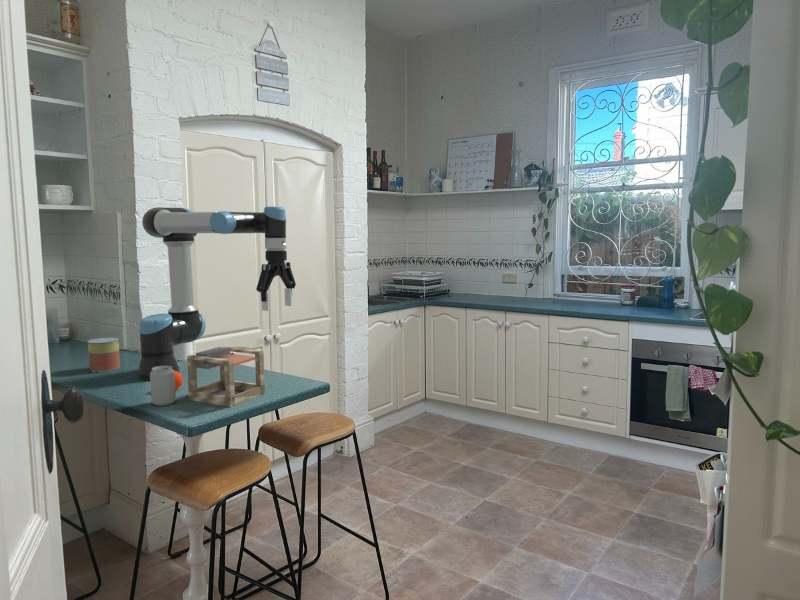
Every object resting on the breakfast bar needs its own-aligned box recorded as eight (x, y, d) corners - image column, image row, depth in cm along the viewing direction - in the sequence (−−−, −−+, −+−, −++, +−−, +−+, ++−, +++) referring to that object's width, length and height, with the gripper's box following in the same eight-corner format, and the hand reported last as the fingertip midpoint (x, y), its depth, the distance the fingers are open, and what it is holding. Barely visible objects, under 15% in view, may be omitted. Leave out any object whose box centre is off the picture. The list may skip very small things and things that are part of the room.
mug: (177, 362, 252) (176, 340, 251) (166, 359, 258) (165, 338, 257) (202, 357, 261) (201, 336, 260) (192, 354, 267) (191, 334, 266)
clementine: (159, 388, 211) (158, 369, 210) (179, 385, 215) (178, 366, 214) (165, 393, 205) (164, 373, 204) (185, 390, 209) (184, 370, 208)
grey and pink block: (194, 368, 197) (193, 353, 196) (221, 360, 209) (221, 346, 208) (231, 373, 190) (230, 358, 189) (257, 364, 202) (257, 350, 201)
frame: (189, 399, 197) (186, 355, 195) (224, 387, 212) (223, 346, 210) (230, 407, 189) (228, 361, 187) (264, 393, 204) (263, 351, 203)
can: (175, 405, 191) (173, 369, 190) (150, 407, 189) (148, 370, 188) (176, 398, 198) (175, 363, 197) (152, 400, 196) (150, 365, 195)
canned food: (126, 367, 242) (124, 338, 241) (101, 373, 232) (99, 343, 231) (108, 364, 248) (106, 336, 246) (83, 370, 238) (81, 341, 236)
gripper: (262, 251, 200) (264, 313, 203) (304, 248, 222) (305, 304, 225) (244, 251, 203) (246, 312, 206) (288, 248, 226) (289, 303, 228)
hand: (277, 308), depth 216 cm, fingers open, 13 cm apart
